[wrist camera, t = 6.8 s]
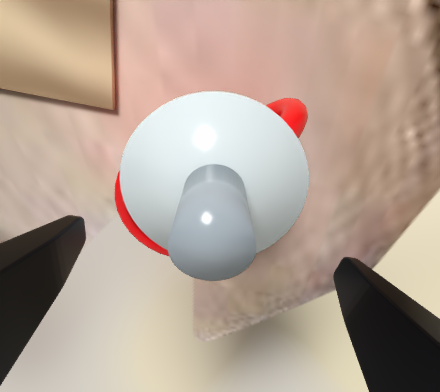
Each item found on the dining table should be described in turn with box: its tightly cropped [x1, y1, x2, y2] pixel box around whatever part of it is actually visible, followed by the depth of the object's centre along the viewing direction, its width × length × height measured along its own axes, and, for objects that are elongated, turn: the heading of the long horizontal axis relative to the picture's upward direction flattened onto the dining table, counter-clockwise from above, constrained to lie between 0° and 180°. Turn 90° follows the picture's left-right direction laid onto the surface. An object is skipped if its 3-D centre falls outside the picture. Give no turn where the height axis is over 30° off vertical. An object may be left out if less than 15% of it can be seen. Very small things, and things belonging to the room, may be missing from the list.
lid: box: [120, 90, 309, 281], centre depth 10 cm, size 9×9×5 cm
